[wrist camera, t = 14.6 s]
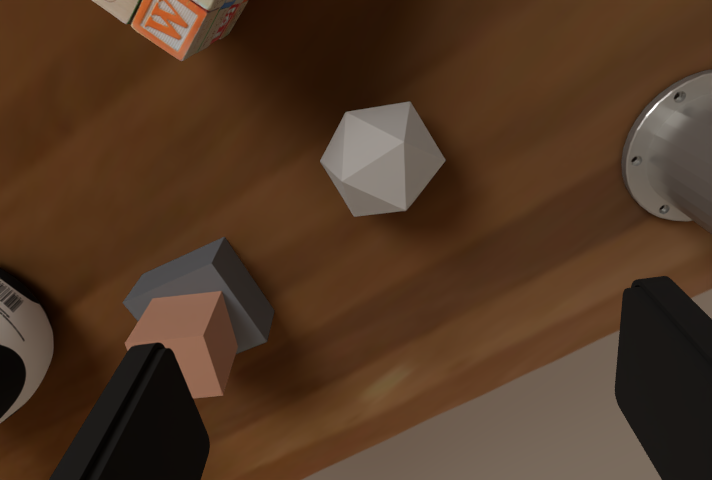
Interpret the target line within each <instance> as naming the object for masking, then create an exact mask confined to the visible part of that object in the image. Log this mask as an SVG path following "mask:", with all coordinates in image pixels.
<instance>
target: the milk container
mask: <svg viewBox="0 0 712 480" xmlns="http://www.w3.org/2000/svg"><path fill="white" fill-rule="evenodd" d="M53 349H54V342H53V329H52V326H51V323H50V321H49V319H48V316H47V314H46V312H45V310H44V308H43V306H42V305H41V304H40V302H39V301H38V300H37V299H36V298H35V296H34V295H33V294H32V293H31V292H30V291H29V290H28V289H27V288H26V287H25V286H24V285H23V284H22V283H21V282H20V281H18V280H17V279H16V278H14V277H13V276H11V275H10V274H8V273H7V272H5V271H4V270H2V269H1V268H0V424H1V423H2V422H3V421H5V420H6V419H7V418H9V417H10V416H11V415H13V414H14V413H15V412H16V411H17V410H19V409H20V408H21V407H22V406H23V405H24V404H25V403H26V402H27V401H28V400H29V399H30V398H31V396H32V395H33V394H34V392H35V391H36V390H37V388H38V387H39V385H40V384H41V382H42V380H43V378H44V376H45V374H46V372H47V370H48V368H49V365H50V363H51V360H52V356H53Z"/></svg>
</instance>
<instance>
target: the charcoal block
mask: <svg viewBox="0 0 712 480" xmlns="http://www.w3.org/2000/svg"><path fill="white" fill-rule="evenodd" d="M216 291H222V294H223V297H224V301H225V304H226V307H227V311H228V314H229V318H230V321H231V324H232V328H233V331H234V335H235V338H236V341H237V345H238V348H237V352H236V354H238V353H240V352H243V351H245V350H248V349H250V348H253V347H255V346H258V345H260V344H263V343H265V342H267V340H268V336H269V332H270V328H271V324H272V319H273V315H274V309H273V308H272V306H271V305H270V303H269V302H268V300H267V299H266V297H265V296H264V295H263V293H262V292H261V290H260V289H259V287H258V286H257V284H256V283H255V281H254V280H253V278H252V277H251V275H250V274H249V272H248V271H247V269H246V268H245V266H244V265H243V263H242V262H241V261H240V259H239V258H238V256H237V255H236V253H235V252H234V250H233V249H232V247H231V246H230V244H229V243H228V241H227V240H226V238H225V237H223V238H221V239H219V240H216V241H214V242H212V243H210V244H208V245H205V246H203V247H201V248H199V249H197V250H194V251H192V252H190V253H188V254H186V255H184V256H181V257H179V258H177V259H175V260H173V261H170V262H168V263H166V264H164V265H162V266H159V267H157V268H155V269H153V270H151V271H148V272H146V273H144V274H142V276H141V277H140V279H139V280H138V282H137V283H136V284H135V286H134V287H133V289H132V290H131V292H130V293H129V294H128V296H127V297H126V299H125V300H124V301H123V304H124V305H125V306H126V307H127V309H128V310H129V311H130V312H131V313H132V315H133V316H134V317H135V318H136V319H137V321H139V320H140V318H141V316H142V315H143V313H144V312H145V310H146V308H147V307H148V305H149V303H150V302H151V300H152V299H153V298H161V297H170V296H179V295H188V294H198V293H207V292H216Z"/></svg>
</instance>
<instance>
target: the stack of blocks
mask: <svg viewBox="0 0 712 480" xmlns="http://www.w3.org/2000/svg"><path fill="white" fill-rule="evenodd" d="M92 1H93V2H95V3H96V4H98V5H99V6H101V7H102V8H103V9H105V10H106V11H108V12H109V13H111V14H112V15H113V16H115V17H116V18H118V19H119V20H120V21H122V22H123V23H125V24H131V27H132V28H133V29H134V30H136V31H137V32H138V33H140V34H141V35H143V36H144V37H146V38H147V39H149V40H150V41H152V42H153V43H154V44H156V45H157V46H159V47H160V48H162V49H163V50H165V51H166V52H168V53H169V54H171V55H172V56H174V57H175V58H177V59H179V60H180V61H183V60H185V59H187V58H188V57H190V56H192V55H193V54H195V53H198V52H199V51H202V50H203V49H205V48H207V47H208V46H209V45H210V44H212V43H213V42H215V41H216V40H218V39H222V38H224V37H225V36H227V35H228V34H229V33H230V31H231V30H232V28H233V26H234V24H235V23H236V21H237V19H238V18H239V16H240V14H241V13H242V11H243V9H244V8H245V6H246V4H247V2H248V1H249V0H92Z"/></svg>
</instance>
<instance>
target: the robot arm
mask: <svg viewBox="0 0 712 480" xmlns="http://www.w3.org/2000/svg"><path fill="white" fill-rule="evenodd" d="M675 94H676V96H675ZM674 96H675V97H674ZM633 158H634V159H633ZM621 163H622V176H623V179H624V183H625V186H626V188H627V190H628V192H629V193H630V195H631V197H632V198H633V199H634V200H635V201H636V202H637V203H638V204H639V205H640V206H641V207H643V208H644V209H645V210H647V211H648V212H649V213H651V214H653V215H655V216H657V217H660V218H663V219H667V220H672V221H694V222H696V223H697V224H698V225H700V226H701V227H702V228H704V229H705V230H706V231H708V232H709V233H710V234H712V70H705V71H702V72H699V73H696V74H693V75H690V76H688V77H686V78H684V79H682V80H680V81H678V82H676V83H674V84H672V85H671V86H670V87H668V88H667V89H665V90H664V91H663V92H661V93H660V94H659V95H658V96H656V97H655V98H654V99H653V100H652V101H651V102H650V103H649V104H648V105H647V106H646V107H645V109H644V110H643V111H642V113H641V114H640V115H639V117H638V118H637V119H636V121H635V123H634V124H633V126H632V128H631V130H630V132H629V134H628V136H627V139H626V142H625V145H624V148H623V155H622V162H621ZM615 396H616V399H617V403H618V405H619V407H620V409H621V411H622V413H623V414H624V416H625V418H626V420H627V421H628V423H629V425H630V426H631V428H632V429H633V431H634V433H635V435H636V436H637V438H638V439H639V441H640V443H641V445H642V446H643V448H644V450H645V451H646V453H647V455H648V457H649V458H650V460H651V462H652V463H653V465H654V467H655V468H656V470H657V472H658V473H659V475H660V477H661V479H662V480H712V319H711V318H710V317H709V316H708V315H707V314H706V313H705V312H704V311H703V310H702V309H701V308H700V307H699V306H698V305H697V304H696V303H695V302H693V301H692V299H691V298H690V297H689V296H688V295H687V294H686V293H685V292H684V291H683V290H682V289H681V288H680V287H679V286H677V285H676V284H675V283H674V282H673V281H672V280H671V279H670V278H669V277H666V276H661V277H653V278H646V279H638V280H635V281H633V283H632V286H631V288H627V289H625V290H624V292H623V299H622V311H621V322H620V334H619V346H618V357H617V369H616V381H615ZM209 448H210V442H209V437H208V434H207V431H206V429H205V426H204V424H203V422H202V419H201V417H200V414H199V412H198V410H197V407H196V405H195V402H194V400H193V398H192V395H191V393H190V390H189V388H188V386H187V383H186V381H185V378H184V376H183V374H182V371H181V369H180V366H179V364H178V362H177V359H176V357H175V354H174V352H173V351H172V349H170V348H165V346H164V345H163V344H162V343H159V342H157V343H149V344H142V345H134V346H132V347H131V348H130V349H129V350H128V352H127V353H126V355H125V357H124V358H123V360H122V361H121V363H120V365H119V366H118V368H117V370H116V371H115V373H114V375H113V376H112V378H111V379H110V381H109V383H108V384H107V386H106V388H105V389H104V391H103V393H102V394H101V396H100V397H99V399H98V401H97V402H96V404H95V406H94V407H93V409H92V410H91V412H90V414H89V415H88V417H87V419H86V420H85V422H84V424H83V425H82V427H81V428H80V430H79V432H78V433H77V435H76V437H75V438H74V440H73V441H72V443H71V445H70V446H69V448H68V450H67V451H66V453H65V455H64V456H63V458H62V459H61V461H60V463H59V464H58V466H57V468H56V469H55V471H54V472H53V474H52V476H51V477H50V479H49V480H201V476H202V473H203V470H204V467H205V464H206V461H207V457H208V454H209Z"/></svg>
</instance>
